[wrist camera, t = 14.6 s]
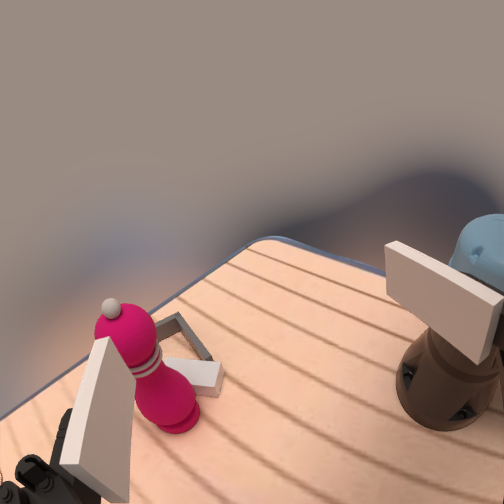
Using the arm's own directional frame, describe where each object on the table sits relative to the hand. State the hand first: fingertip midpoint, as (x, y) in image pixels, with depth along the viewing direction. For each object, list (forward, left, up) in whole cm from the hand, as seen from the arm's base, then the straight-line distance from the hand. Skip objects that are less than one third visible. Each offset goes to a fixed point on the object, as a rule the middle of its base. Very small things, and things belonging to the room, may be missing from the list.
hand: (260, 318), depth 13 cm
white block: (+2, -17, -25) cm, 31 cm away
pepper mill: (+6, -14, -25) cm, 29 cm away
